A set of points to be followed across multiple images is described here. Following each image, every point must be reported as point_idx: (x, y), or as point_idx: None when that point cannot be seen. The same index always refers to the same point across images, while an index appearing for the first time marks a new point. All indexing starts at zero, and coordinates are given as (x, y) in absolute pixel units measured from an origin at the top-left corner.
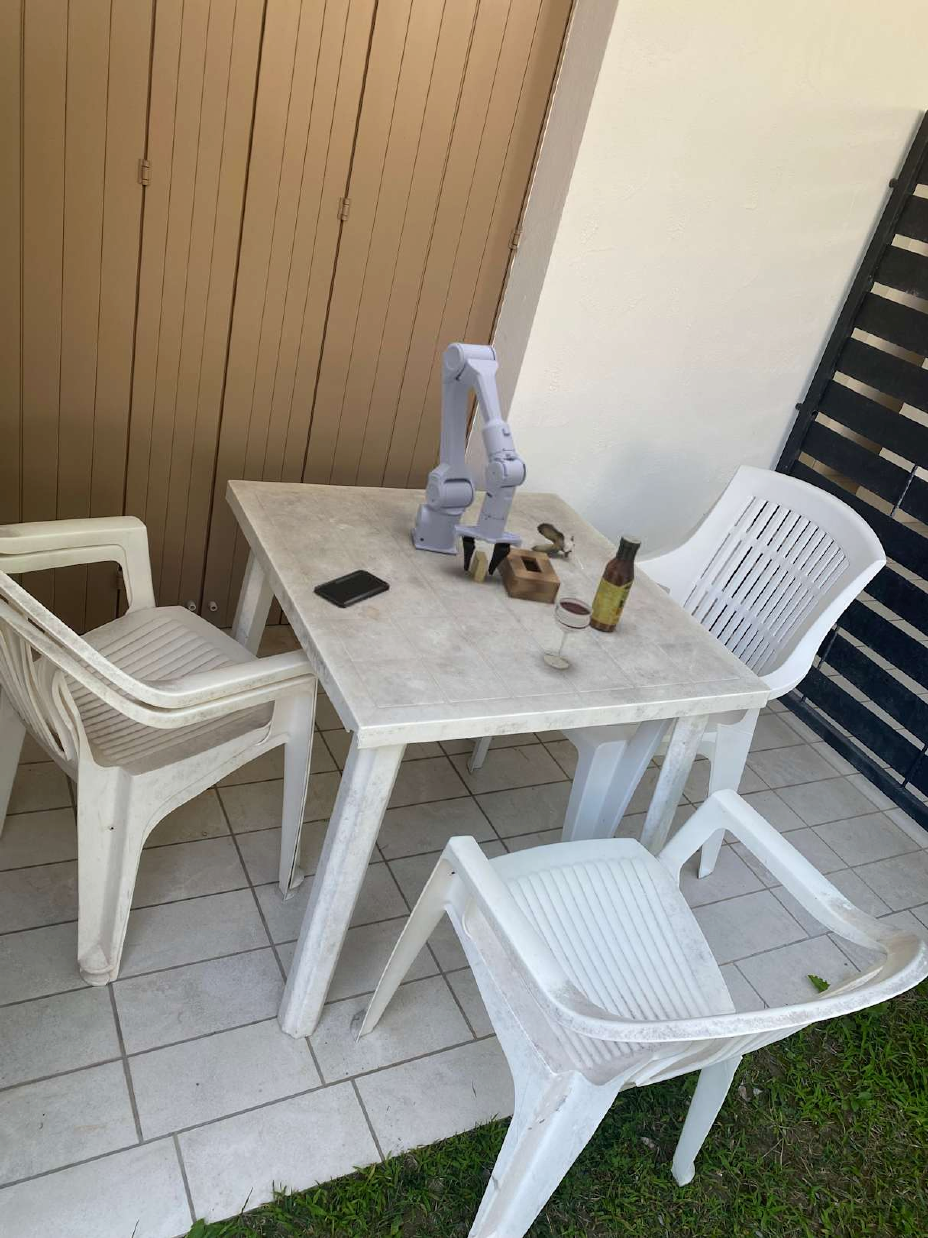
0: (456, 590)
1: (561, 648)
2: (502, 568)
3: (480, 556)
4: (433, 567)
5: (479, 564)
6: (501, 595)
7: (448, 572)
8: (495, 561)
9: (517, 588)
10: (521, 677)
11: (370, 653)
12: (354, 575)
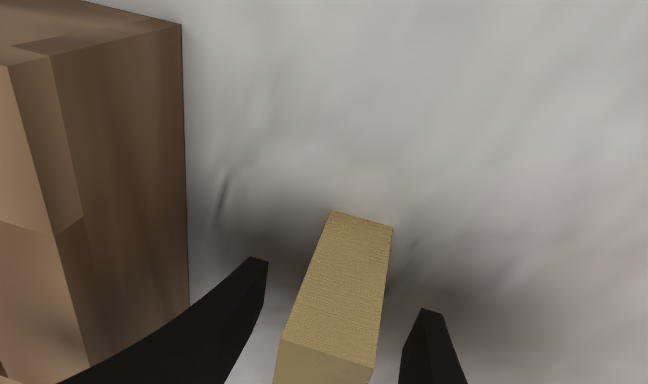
0: (638, 112)
1: None
2: (165, 312)
3: None
4: (594, 380)
5: (367, 336)
6: (235, 50)
7: (519, 330)
8: (203, 344)
9: (71, 23)
10: None
11: None
12: None
